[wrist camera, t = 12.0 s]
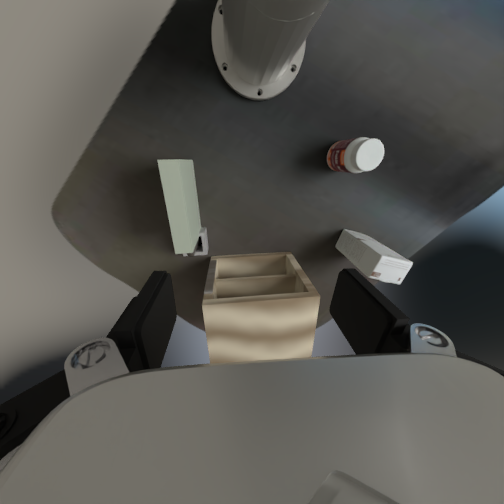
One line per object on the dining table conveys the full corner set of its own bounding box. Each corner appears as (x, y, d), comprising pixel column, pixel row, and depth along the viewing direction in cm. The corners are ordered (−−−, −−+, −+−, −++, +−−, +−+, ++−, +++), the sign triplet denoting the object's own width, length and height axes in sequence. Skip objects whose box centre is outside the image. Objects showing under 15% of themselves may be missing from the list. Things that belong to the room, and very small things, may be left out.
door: (171, 160, 32) (148, 160, 23) (198, 159, 33) (186, 159, 24) (185, 249, 39) (172, 276, 30) (208, 248, 39) (202, 274, 30)
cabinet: (192, 237, 38) (171, 280, 24) (291, 232, 40) (324, 270, 26) (202, 306, 45) (190, 369, 31) (287, 299, 46) (311, 357, 33)
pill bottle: (321, 152, 34) (347, 150, 27) (346, 134, 33) (380, 126, 26) (332, 177, 36) (360, 181, 28) (356, 160, 35) (391, 160, 28)
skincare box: (367, 234, 42) (417, 261, 31) (357, 254, 43) (401, 285, 32) (341, 227, 40) (383, 253, 29) (332, 248, 42) (368, 279, 31)
